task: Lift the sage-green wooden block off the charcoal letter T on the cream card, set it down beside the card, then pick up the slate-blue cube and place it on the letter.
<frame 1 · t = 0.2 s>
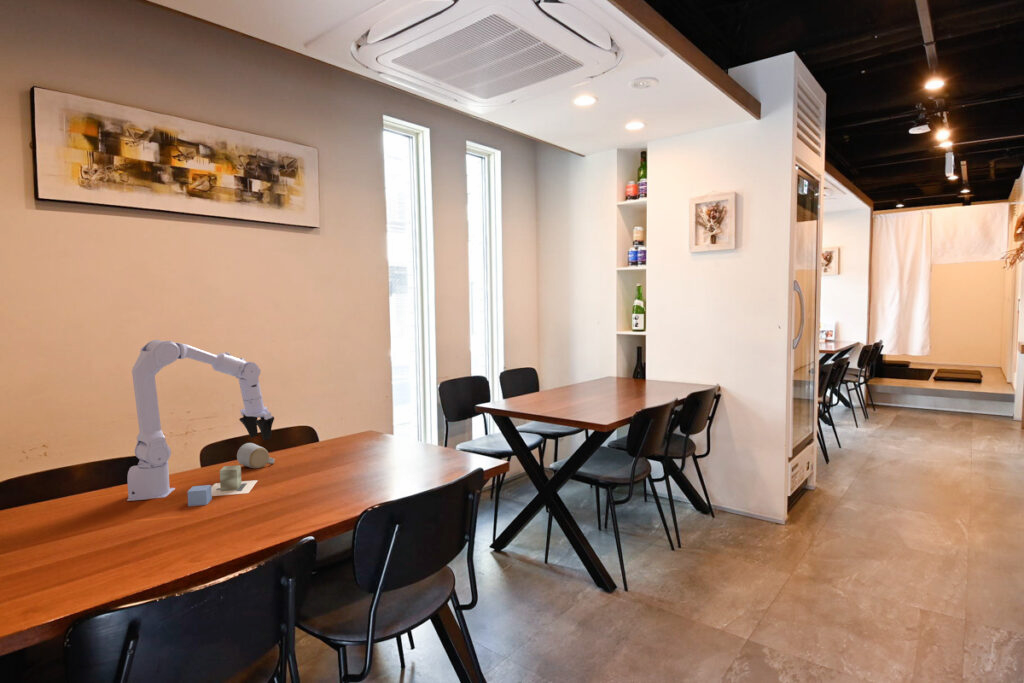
hand: (260, 437, 182), 10 cm above the table, tool pointing down, fingers open, 7 cm apart
letter card: (231, 489, 163), on the table
blue cube: (200, 504, 151), on the table
ceramic mug: (257, 466, 187), on the table
green block: (231, 488, 163), resting on letter card
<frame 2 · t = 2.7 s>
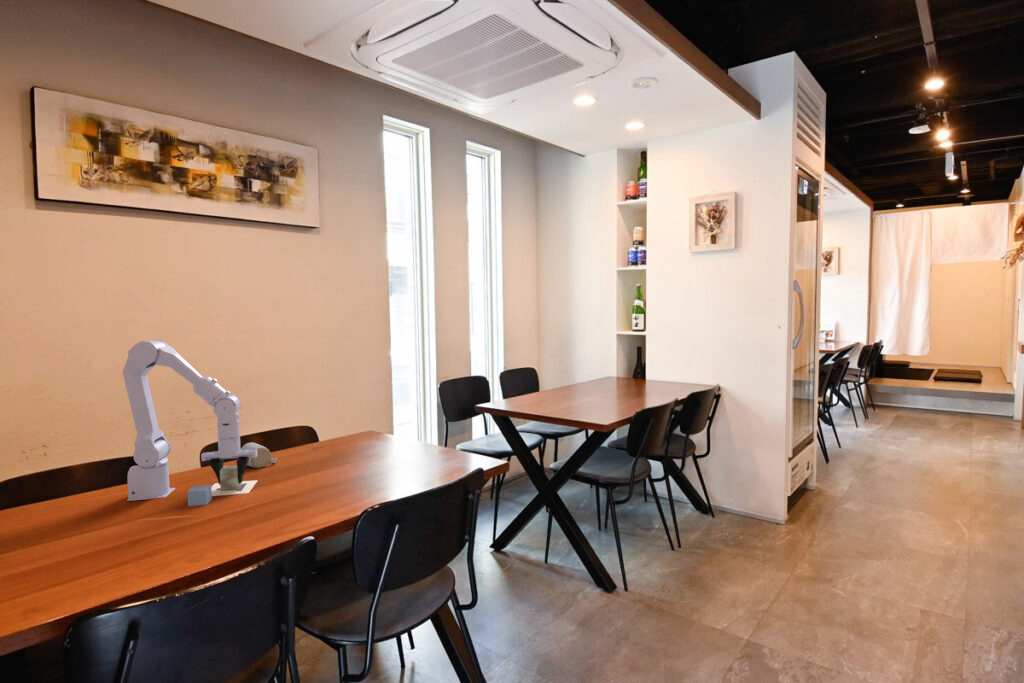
hand: (231, 483, 163), 2 cm above the table, tool pointing down, fingers closed on green block, 4 cm apart
green block: (231, 488, 163), resting on letter card, touching gripper
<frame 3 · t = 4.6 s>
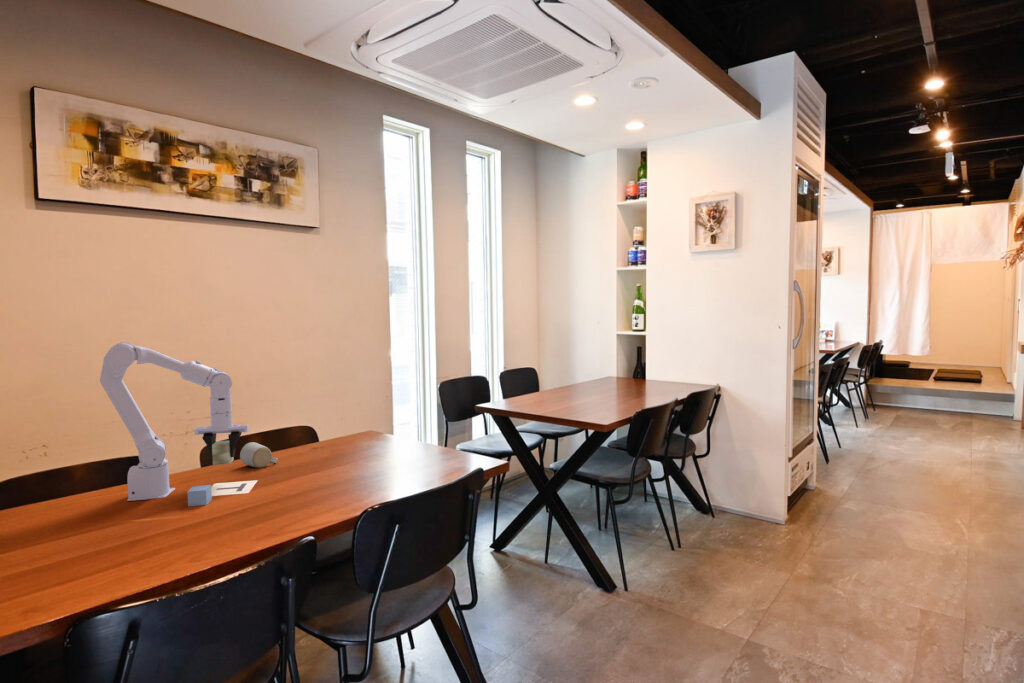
hand: (223, 457, 167), 8 cm above the table, tool pointing down, fingers closed on green block, 4 cm apart
green block: (223, 462, 167), point 7 cm above the table, touching gripper
when the fingers open (3 cm above the table, at t = 6.4 s): green block drops 1 cm, on the table.
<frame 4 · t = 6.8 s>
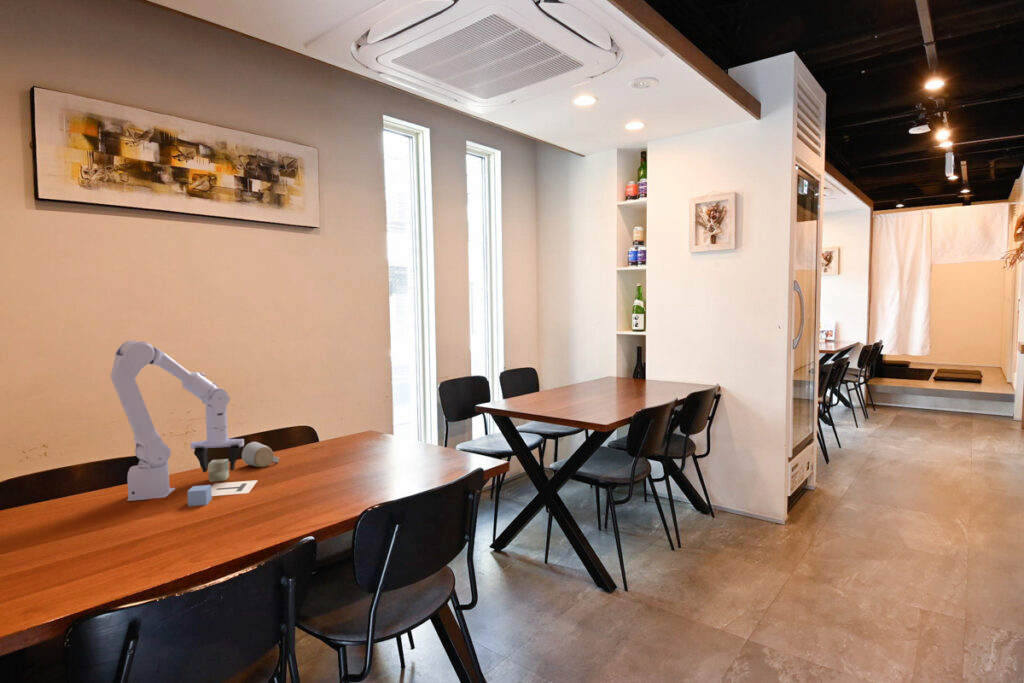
hand: (218, 470, 172), 3 cm above the table, tool pointing down, fingers open, 7 cm apart
green block: (219, 480, 172), on the table
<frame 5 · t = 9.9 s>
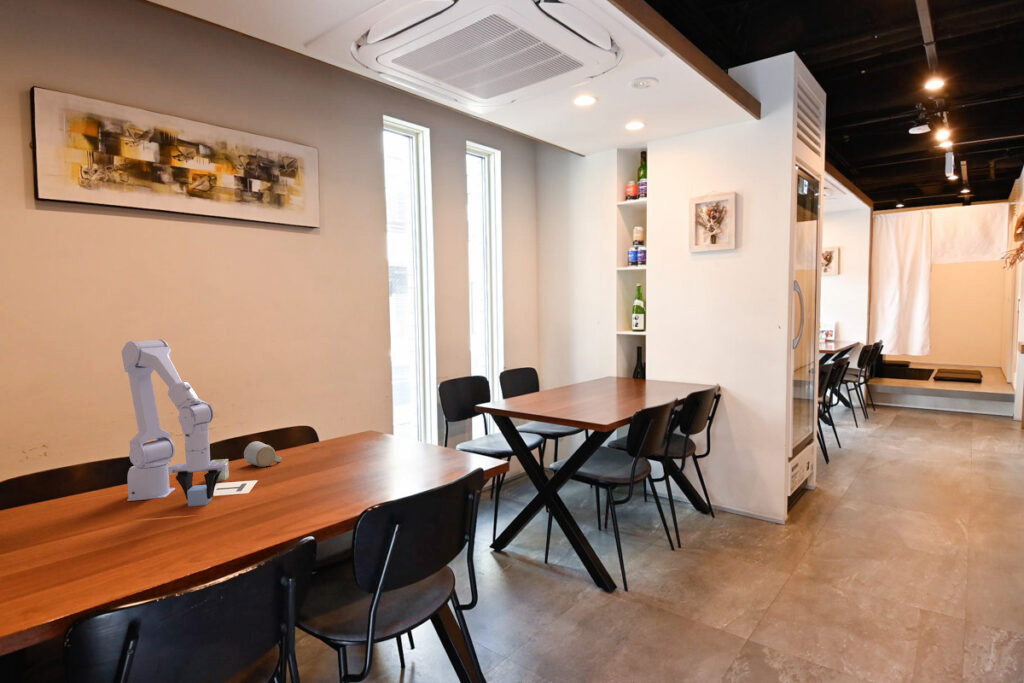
hand: (200, 498, 151), 2 cm above the table, tool pointing down, fingers closed on blue cube, 5 cm apart
blue cube: (200, 504, 151), on the table, touching gripper
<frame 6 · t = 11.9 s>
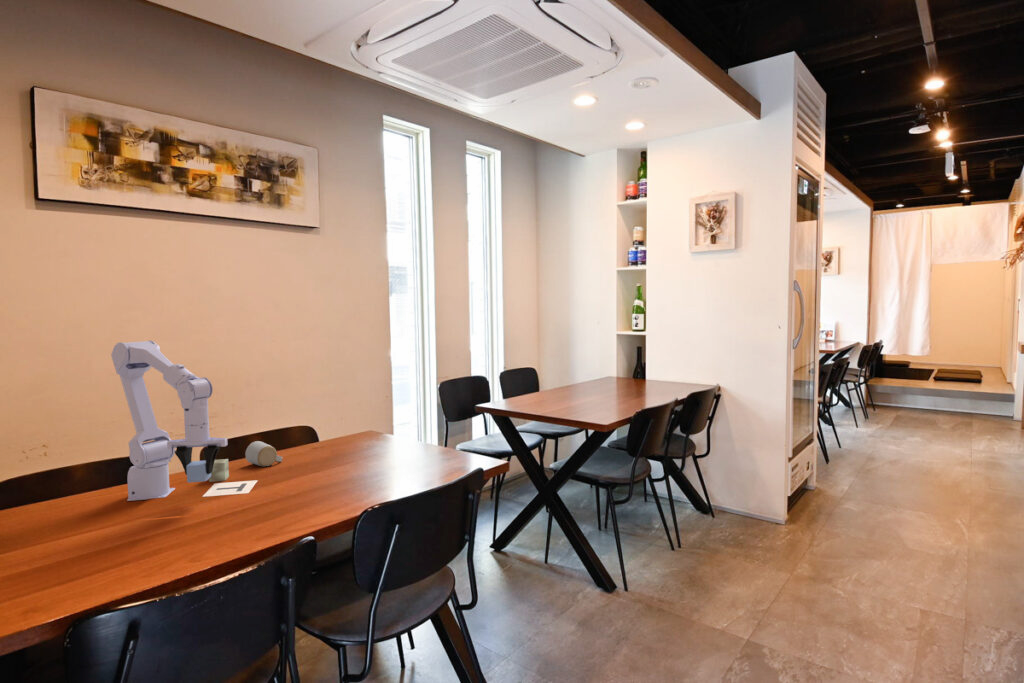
hand: (199, 473, 151), 8 cm above the table, tool pointing down, fingers closed on blue cube, 5 cm apart
blue cube: (199, 479, 151), point 7 cm above the table, touching gripper
when the fingers open (3 cm above the table, at t = 14.2 s): blue cube stays where it is, resting on letter card.
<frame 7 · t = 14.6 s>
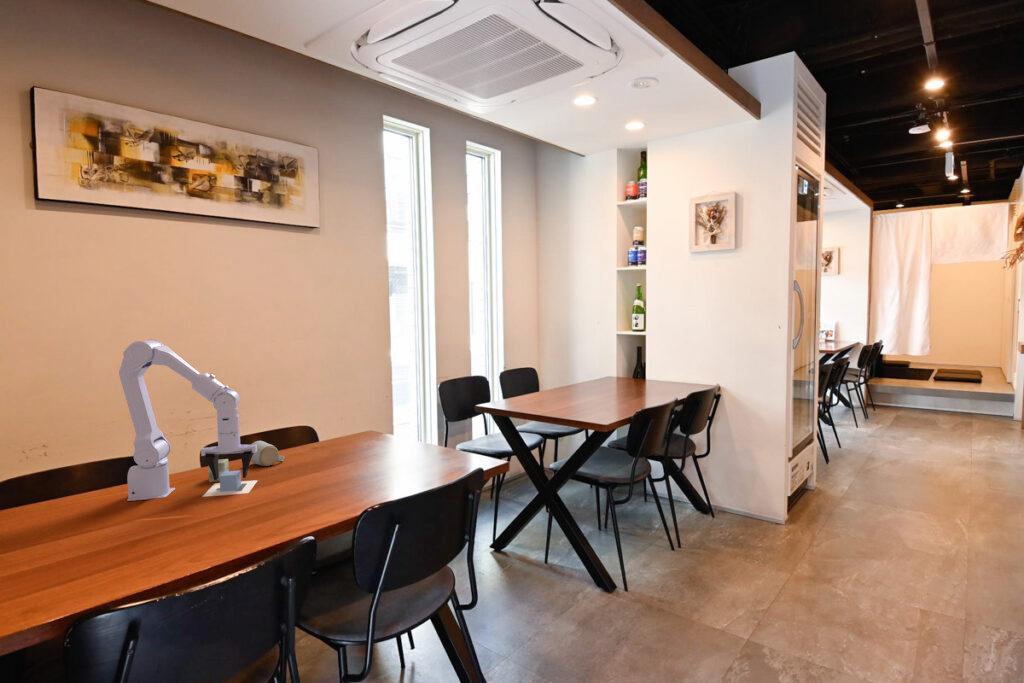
hand: (230, 478, 163), 3 cm above the table, tool pointing down, fingers open, 7 cm apart
blue cube: (230, 488, 162), resting on letter card
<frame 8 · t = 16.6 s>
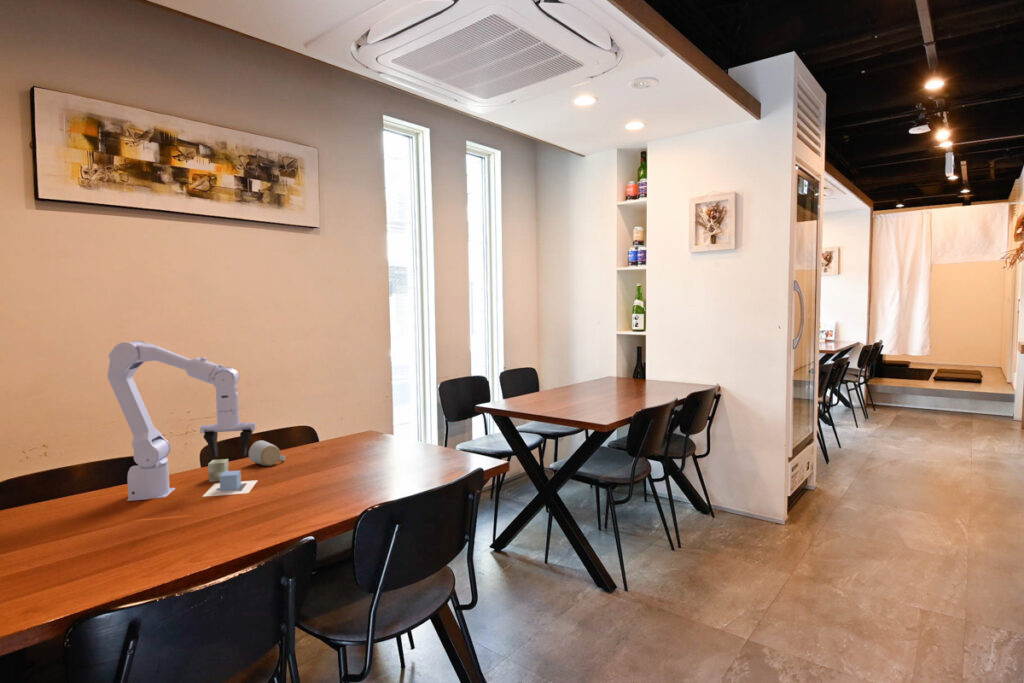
hand: (229, 456, 162), 10 cm above the table, tool pointing down, fingers open, 7 cm apart
at the end: blue cube 0.4 cm off-centre on the letter card, point 0.4 cm above the letter card's base; blue cube tilted 0°; green block touching table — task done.
